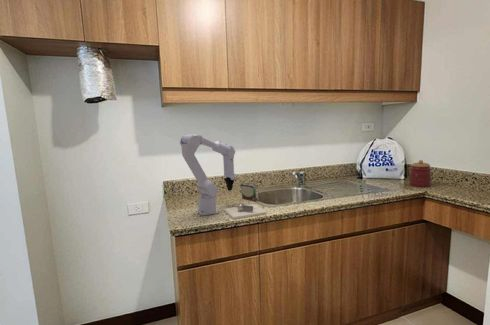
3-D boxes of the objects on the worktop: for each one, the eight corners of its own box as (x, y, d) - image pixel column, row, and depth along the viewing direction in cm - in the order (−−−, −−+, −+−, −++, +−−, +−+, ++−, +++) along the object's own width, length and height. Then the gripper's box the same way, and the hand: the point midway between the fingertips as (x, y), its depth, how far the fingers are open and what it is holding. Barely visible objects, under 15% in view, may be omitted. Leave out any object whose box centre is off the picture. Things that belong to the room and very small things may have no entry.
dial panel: (233, 219, 135) (233, 217, 135) (224, 210, 150) (224, 208, 150) (266, 214, 141) (266, 211, 141) (254, 206, 156) (254, 204, 156)
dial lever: (236, 210, 144) (236, 204, 143) (239, 208, 147) (239, 203, 147) (251, 212, 140) (250, 206, 139) (254, 210, 143) (254, 204, 142)
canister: (431, 188, 181) (432, 161, 178) (408, 186, 187) (409, 161, 185) (430, 184, 192) (431, 159, 189) (409, 182, 198) (409, 158, 196)
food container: (261, 199, 169) (261, 184, 168) (254, 202, 165) (254, 185, 164) (247, 196, 178) (246, 181, 177) (240, 198, 174) (240, 183, 172)
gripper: (239, 167, 150) (240, 191, 152) (231, 164, 164) (232, 187, 165) (227, 169, 148) (228, 193, 149) (220, 165, 161) (221, 188, 163)
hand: (229, 190), depth 157 cm, fingers closed
